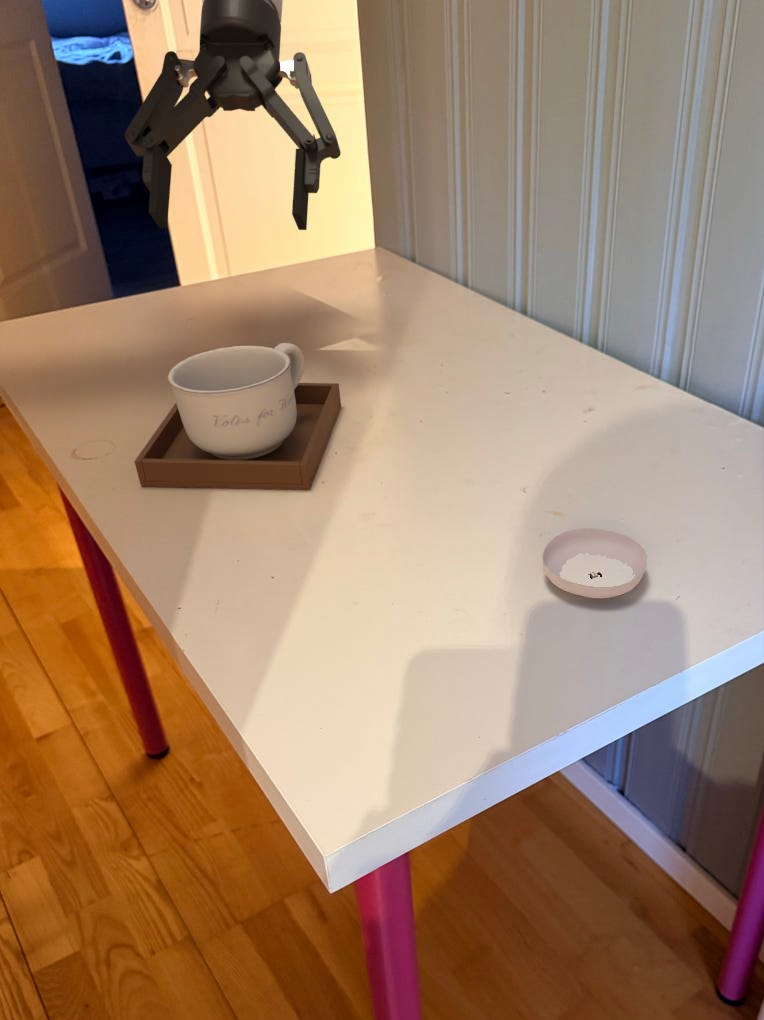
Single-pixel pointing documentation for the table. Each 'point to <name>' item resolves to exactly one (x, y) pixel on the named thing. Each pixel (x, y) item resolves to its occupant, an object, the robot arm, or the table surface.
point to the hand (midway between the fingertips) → (228, 221)
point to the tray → (284, 468)
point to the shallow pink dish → (593, 544)
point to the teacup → (238, 398)
